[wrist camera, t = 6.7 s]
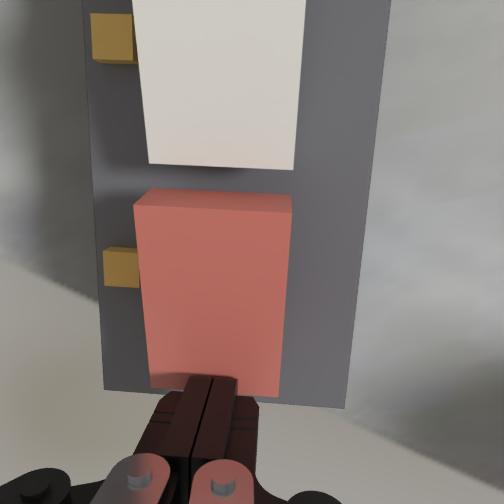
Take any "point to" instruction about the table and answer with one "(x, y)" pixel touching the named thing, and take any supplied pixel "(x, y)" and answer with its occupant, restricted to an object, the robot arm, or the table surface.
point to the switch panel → (247, 180)
